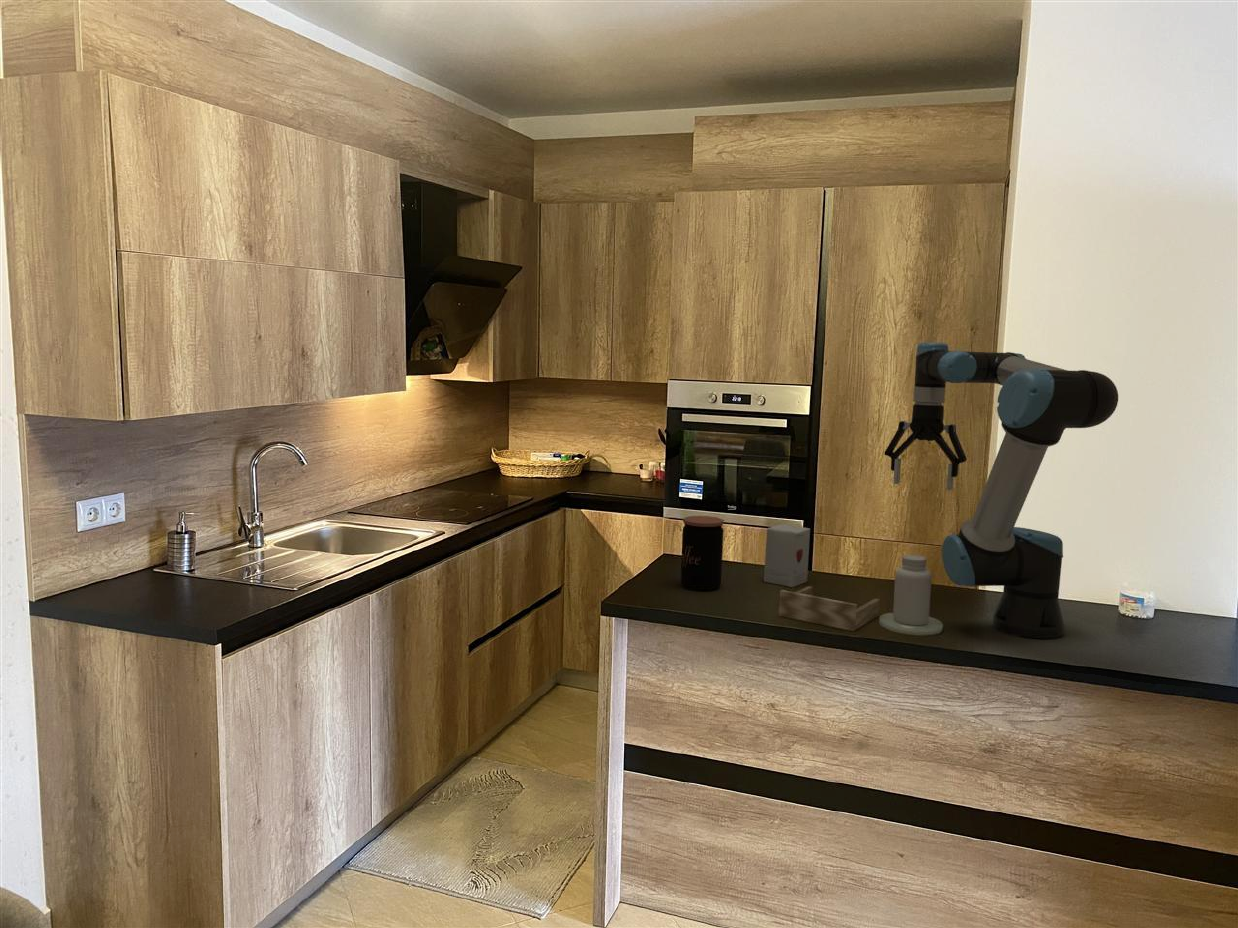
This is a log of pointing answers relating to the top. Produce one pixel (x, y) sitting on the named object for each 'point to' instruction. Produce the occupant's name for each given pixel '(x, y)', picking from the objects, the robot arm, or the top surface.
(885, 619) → the sage coaster
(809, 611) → the oak stall
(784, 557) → the supplement box
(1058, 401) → the robot arm
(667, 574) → the top surface
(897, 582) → the pill bottle
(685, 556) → the coffee jar
